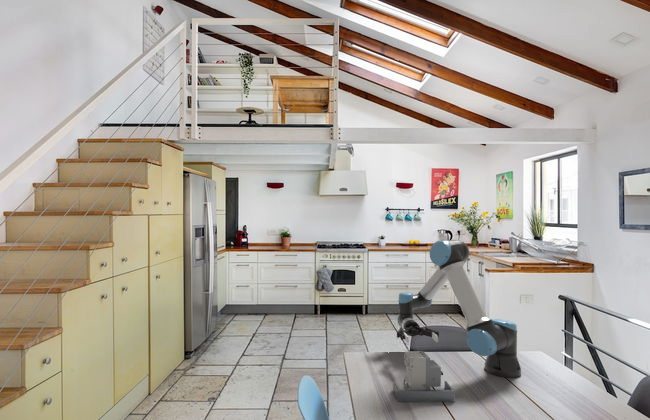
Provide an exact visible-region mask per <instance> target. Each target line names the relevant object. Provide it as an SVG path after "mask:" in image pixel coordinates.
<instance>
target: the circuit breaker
mask: <svg viewBox="0 0 650 420" xmlns="http://www.w3.org/2000/svg"><path fill="white" fill-rule="evenodd" d="M403 363H404V364H405V376H403V390H431V387H432V388H434V387H436V388H437V387H438V388H439V387H442V385H441V384H442V383H441V382H442V376H443V375H444V372H443V370H442V368H441V366H440V365H439V364H438V363H437V362H436V361H435V360H434V359H431V357H429V355H428V354H427V353H426V352H425V351H423V350H417V351H416V350H415V351H414V350H413V351H412V350H411V351H409V350H408V351H404V355H403Z"/></svg>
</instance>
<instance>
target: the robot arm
mask: <svg viewBox="0 0 650 420" xmlns="http://www.w3.org/2000/svg"><path fill="white" fill-rule="evenodd" d="M469 256H470V249H469V247H468V245H467V243H465V242H464V241H463V240H460V239H449V240H448V239H447V240H446V239H445V240H444V239H441V240H437V241H435V242H434V243H433V244H432V245H431V247H430V250H429V259H430V260H431V262H432V264H434V265H435V266H438V267H437V269H436V270H435V271H434V273H433V274H432V275H431V276H430V277H429V279H428V280H427V281H426V283H425V284H424V285H423V286H422V288H421V289H420V290H419V291H418V293H417V294H413V293H412V292H407V291H405V292H399V294H398V316H397V323H398V326H399V329H398V330H397V331H396V338H397V339H399V338H400V340H401V341H403V340H404V341H405V343H406V344H408V343H409V341H410V337H416V336H420V337H421V336H426V337H430V338H431V339H432V340H433V341H435V342H436V343H439V337H440V331H438V330H434V329H431V328H428V327H427V326H425V327H424V328H423V327H420V324H419V323H418V322H417V321H416V320H415V319H414V310H417V309H423V308H428V307H429V306H431V305H432V302H433V299H434V297H435V296H436V294H438V292H439V291H440V290H441V288H442V287H444V285H445V284H446V283H447V282H449V285H450V287H451V289H452V291H453V293H454V295H455V298H456V300H457V302H458V304H459V306H460V308H461V311H462V314H463V316H464V317H465V320H466V323H467V324H466V327H465V328H466V331H467V334H466V339H465V340H466V343H467V346H468V347H469V349H470V350H471V351H472V352H473V353H474V354H476V355H478V356H481V357H486V359H485V361H484V369H485V371H486V372H488V373H489V374H491V375H494V376H498V377H502V378H518V377H520V376H521V375H522V369H521V365H520V362H519V359H518V356H517V351H518V344H517V343H518V328H517V327H518V326H517V324H516V323H515V322H513V321H510V320H505V319H502V318H501V319H500V318H490V317H488V316H487V315H486V313H485V311H484V308H483V307H482V304H481V302H480V300H479V298H478V296H477V294H476V292H475V289H474V287H473V285H472V284H471V281H470V278H469V277H468V275H467V273H466V270H465V268H464V266H465V265H464V264H465V263H466V262H467V261H468V259H469Z"/></svg>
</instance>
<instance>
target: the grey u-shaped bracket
mask: <svg viewBox="0 0 650 420" xmlns="http://www.w3.org/2000/svg"><path fill="white" fill-rule="evenodd" d="M392 392H393V394H394V396H395V399H396V401H397V403H455V390H454V389H453V388H452V386H451V385H450V384H449V383H448V381H447V380H444V389H430V390H404V389H399V388H398V385H397V383H396V381H395V380H392Z"/></svg>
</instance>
